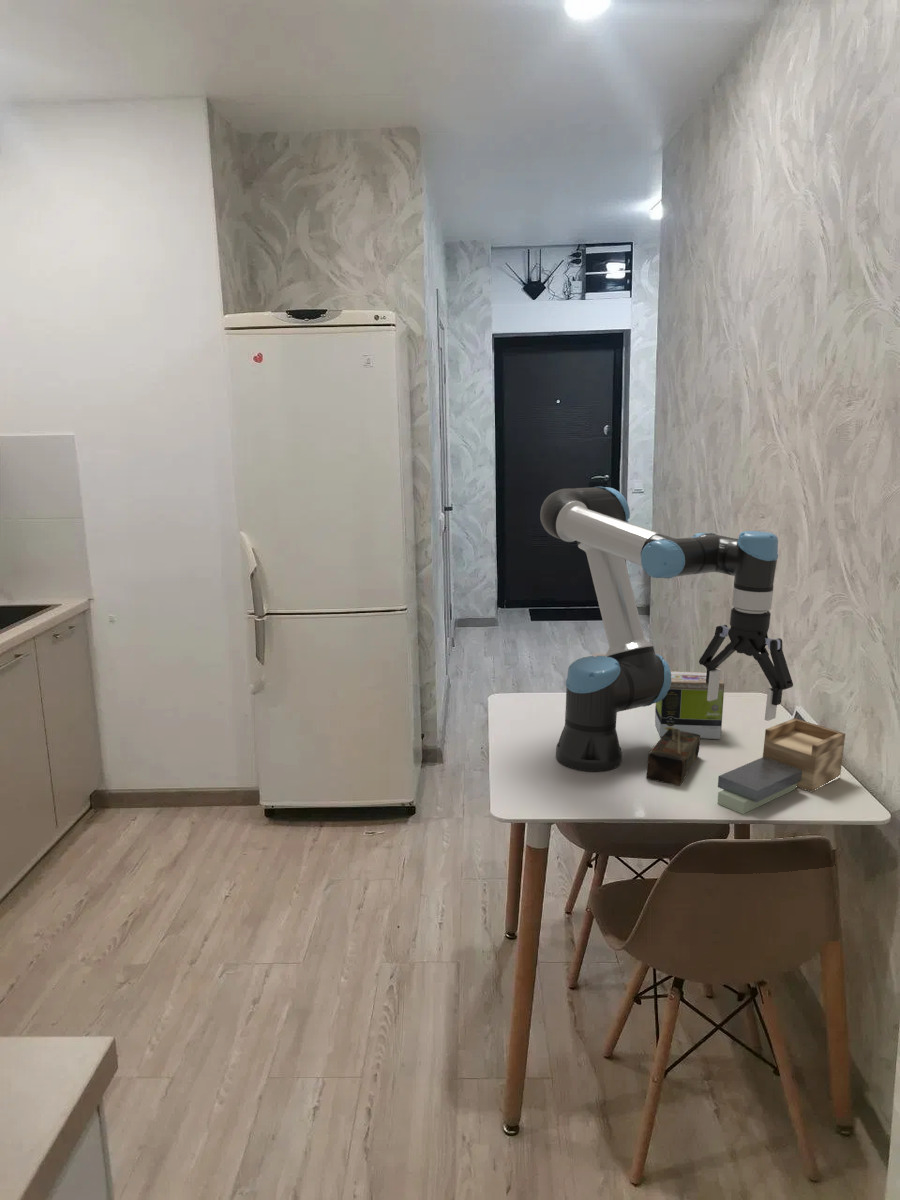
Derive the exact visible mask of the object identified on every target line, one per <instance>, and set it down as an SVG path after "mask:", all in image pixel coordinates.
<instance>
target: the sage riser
mask: <svg viewBox="0 0 900 1200" xmlns="http://www.w3.org/2000/svg"><path fill="white" fill-rule="evenodd" d="M796 785H797V783H796V784H794V785H792V786H790V787H788V788H786V789H784V790H781V791H779V792H777V793H775V794H773V795H771V796H769V797H767V798H765V799H763V800H761V801H758V802H754V801H751V800H749V799H746V798H744V797H741V796H739V795H736V794H734V793H731V792H729V791H726V790H724V789H721V790H720V791H718V793H717V805H721V806H723V807H725V808H727V809H730V810H733V811H735V812H737V813H739V814H742V815H744V814H746V813H748V812H750V811H752V810H754V809H757V808H758V807H760V806H763V805H766V804H767V803H769V802H771V801H773V800H775V799H777V798H779V797H782V796H784V795H787V794H788V793H790V792H792V791H794V790H796V789H797V787H796ZM795 788H796V789H795Z"/></svg>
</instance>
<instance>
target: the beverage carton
mask: <svg viewBox="0 0 900 1200" xmlns="http://www.w3.org/2000/svg"><path fill="white" fill-rule="evenodd" d="M700 741H701V738H700V735H698V734H694V733H689V732H684V731H680V730H679V729H669V730H668V731H667V732H666V733H665V734H664V735H663V737H661V738H660V739H659V740H658V741H657V743H656V744H655V745H654V746H653V748H652V749H651V751H650V752H649V753H648V757H647V765H646V774H645V778H646V779H647V780H648V779H649V780H652V781H656V782H662V783H665V784H670V785H674V786H676V787H679V786H681V784H682V783H683V781H684V780H685V778H686V777H687V775H688V774H689V772H690V771H691V769H692V767H693V766H694V764H695V761H696V760H697V758H698V757H699V756H698V755H699V753H700V744H701V743H700Z"/></svg>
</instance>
